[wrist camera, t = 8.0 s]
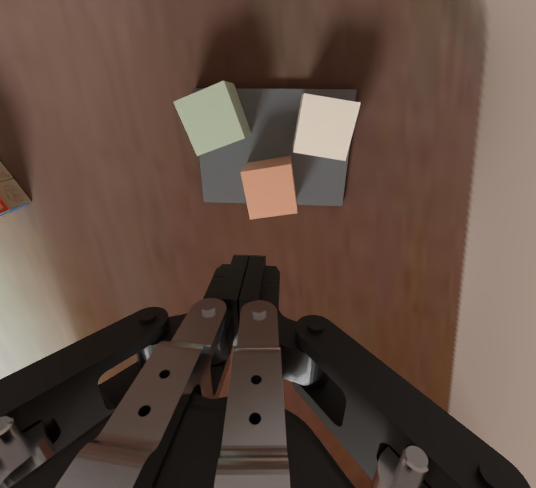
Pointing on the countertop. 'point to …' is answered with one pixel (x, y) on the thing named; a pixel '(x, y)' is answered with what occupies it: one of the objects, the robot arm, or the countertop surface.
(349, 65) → the countertop surface
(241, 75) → the countertop surface
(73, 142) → the countertop surface
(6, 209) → the stack of blocks
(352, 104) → the cream cube
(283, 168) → the terracotta cube
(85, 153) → the countertop surface
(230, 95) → the sage cube
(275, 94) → the mat
